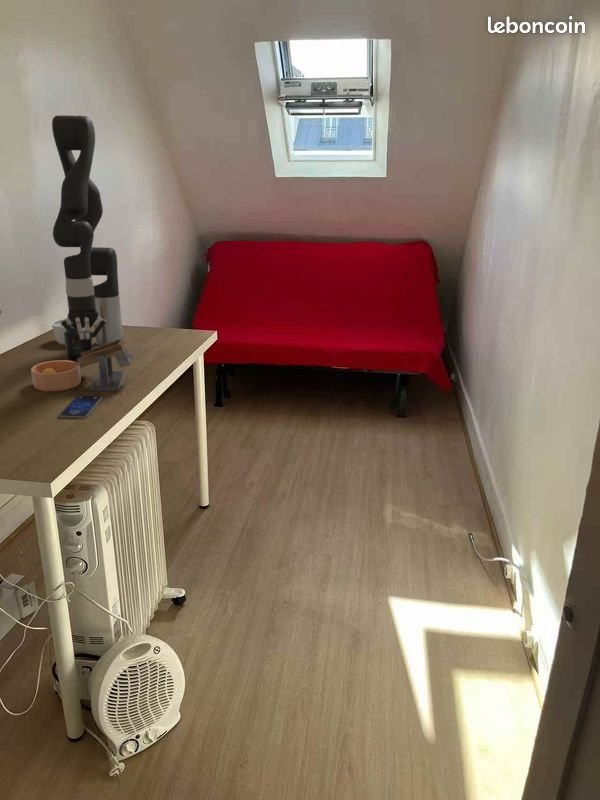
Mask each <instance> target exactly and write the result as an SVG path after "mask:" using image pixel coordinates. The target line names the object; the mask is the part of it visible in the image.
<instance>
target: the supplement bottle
mask: <svg viewBox="0 0 600 800" xmlns="http://www.w3.org/2000/svg"><path fill="white" fill-rule="evenodd" d="M70 322H71V321H70ZM71 325H72V326H73V327H74V328H75V329H76V330H77V331H78V328H77V327H76V326H75V325H74V324H73V323H72V322H71ZM85 337H86V332H85ZM64 340H65V345H64V347H65V353H66V359H68V361H77V359H78V358H81V357H82V355H81V353H83V352H85V351H84V350H82V347H81V340H80V339H79V338H77V337H76V338H75V337H73V336H72V335H71V334H70V333H69V332H68V331H67V330H66V331H65V332H64Z"/></svg>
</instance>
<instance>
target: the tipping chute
mask: <svg viewBox="0 0 600 800" xmlns="http://www.w3.org/2000/svg"><path fill="white" fill-rule="evenodd" d="M81 355H82V357H81V358H78V359H77V360H76V361H77V363H78V364H79V365H80V369H82V368H86V367H87V366H90V365H93V364H97V363H99V361H98V355H106V359H107V358H110V357H112V358H113V357H115V359H116V361H117V363H118V365H119V367H120V369H121V368H125V367H127V366H130V365H131V364H132V362H133V359H134V357H133V355H132V353H131V351H130V349H129V347H128V343H127V342H126V341H125V338H124V337H123V338H121V339H118V340H115V341H113V342H110V343H107V344H105V345H102V346H98V345H96V346H92V349H90V350H88V351H85V352H83V353H81Z"/></svg>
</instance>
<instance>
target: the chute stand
mask: <svg viewBox="0 0 600 800" xmlns="http://www.w3.org/2000/svg"><path fill="white" fill-rule="evenodd" d="M98 361H99V362H98V368H99V371H96V373H95V375H94V377H93V379H92V381H91V383H90V385H89V387H88V391H89V392H102V390H103V392H104V391H106V390H109V391H120V388H121V385H122V382H123V379H124V376H125V371H124V370H117V371H116V370H115V371H114V366H113V357H110V358H107V359H106V355H98ZM106 392H107V391H106Z"/></svg>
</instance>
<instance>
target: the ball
mask: <svg viewBox="0 0 600 800" xmlns="http://www.w3.org/2000/svg"><path fill="white" fill-rule="evenodd" d="M42 373H56V372H55V371H54V370H53V369H45V370H44V371H43V372H42Z"/></svg>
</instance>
